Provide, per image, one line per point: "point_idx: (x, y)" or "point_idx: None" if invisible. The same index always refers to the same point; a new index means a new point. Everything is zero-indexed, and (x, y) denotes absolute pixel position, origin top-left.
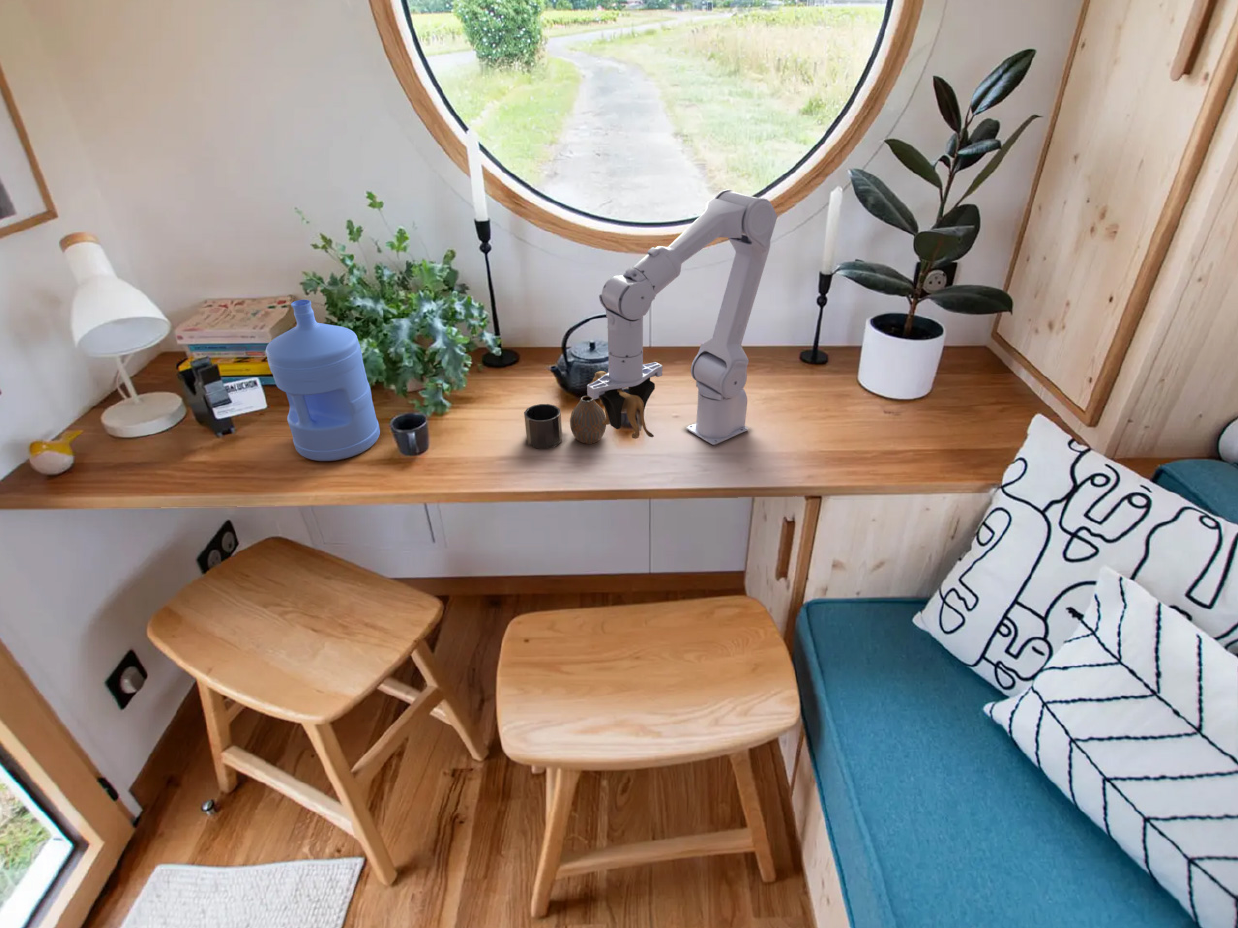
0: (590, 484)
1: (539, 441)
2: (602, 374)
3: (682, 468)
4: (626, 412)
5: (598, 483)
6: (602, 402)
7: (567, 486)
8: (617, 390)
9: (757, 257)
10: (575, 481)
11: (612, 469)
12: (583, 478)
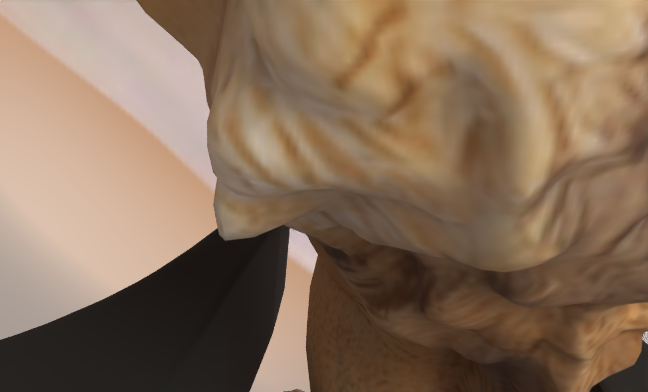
0: (139, 84)
1: None
2: (344, 137)
3: None
4: None
5: (178, 107)
6: (70, 317)
7: (29, 9)
8: (430, 373)
9: None
10: (87, 4)
11: None
12: (138, 14)
